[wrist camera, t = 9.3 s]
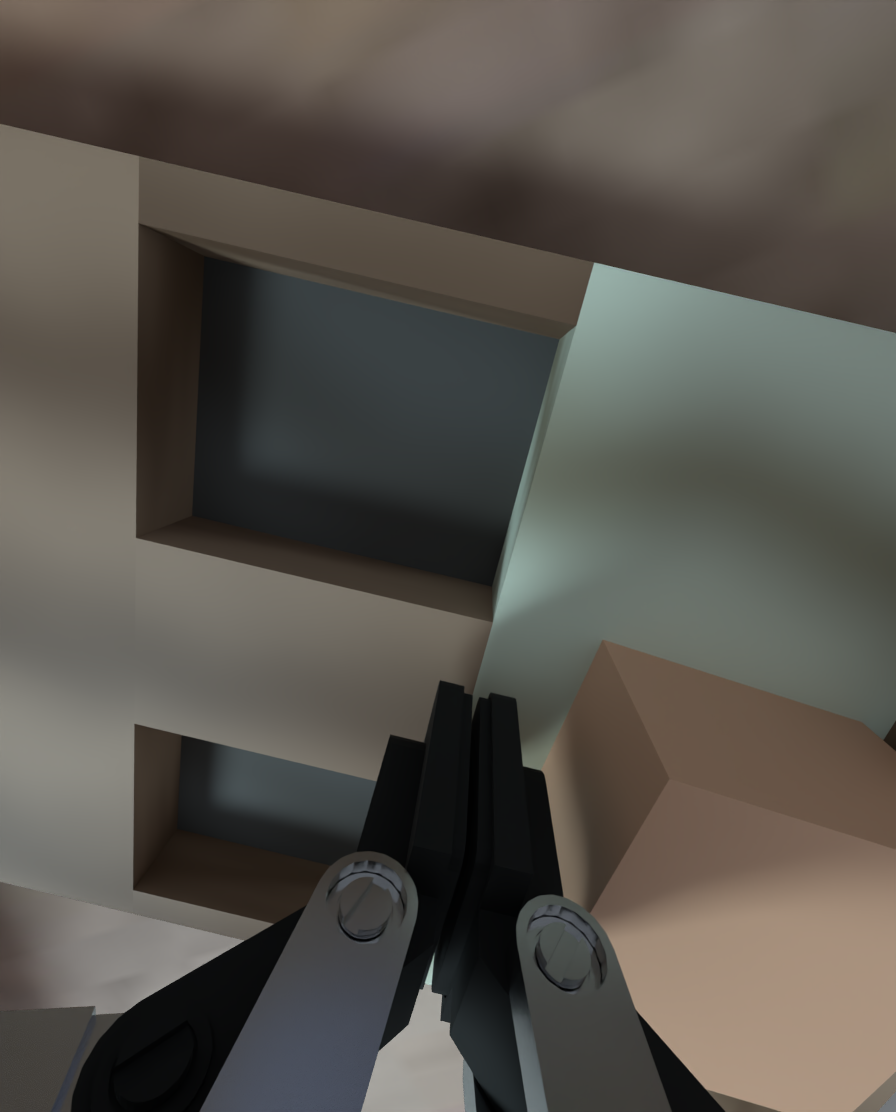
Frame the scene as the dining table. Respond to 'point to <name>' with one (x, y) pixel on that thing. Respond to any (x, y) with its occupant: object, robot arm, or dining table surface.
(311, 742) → the trap board
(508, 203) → the dining table surface
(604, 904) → the block
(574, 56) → the dining table surface
